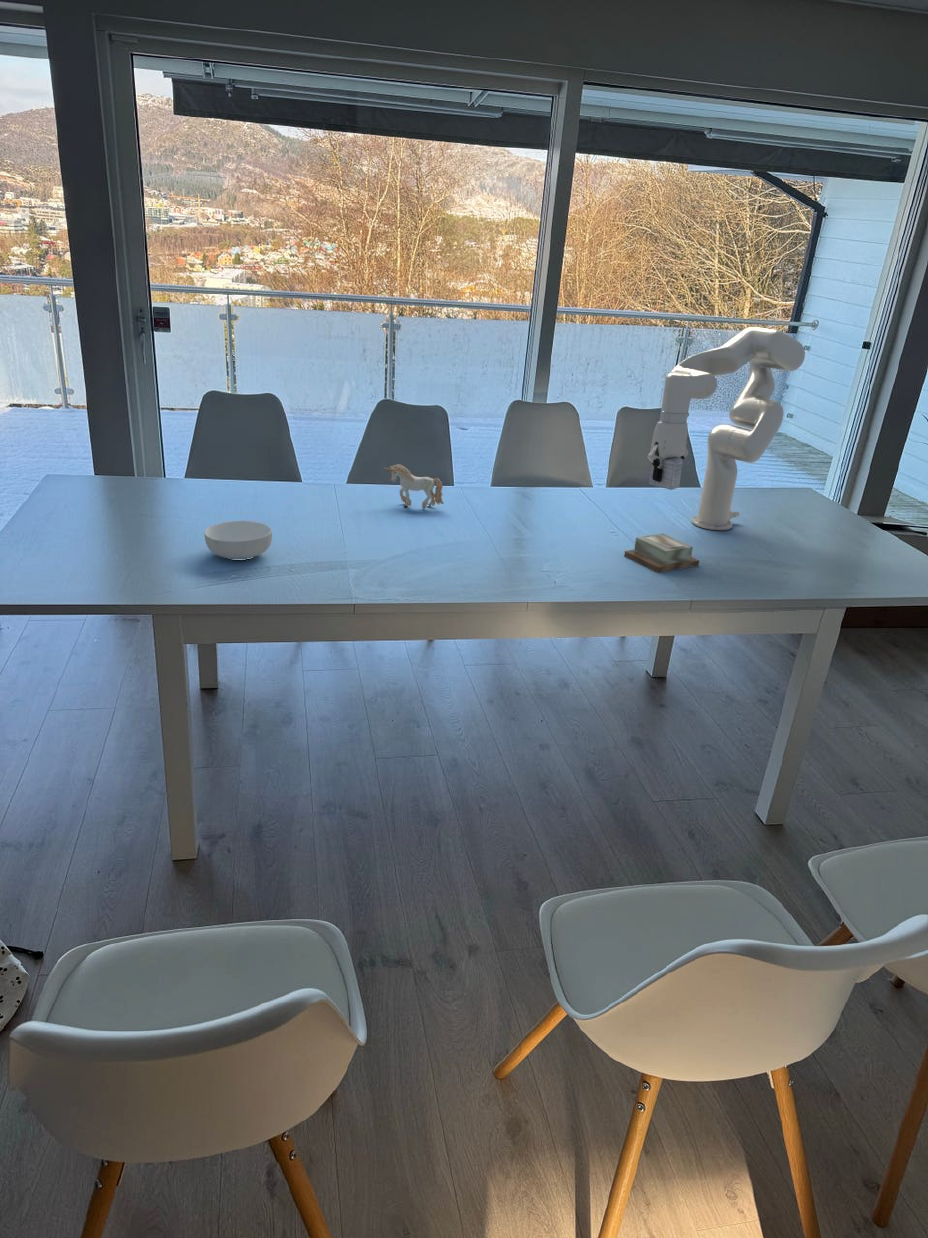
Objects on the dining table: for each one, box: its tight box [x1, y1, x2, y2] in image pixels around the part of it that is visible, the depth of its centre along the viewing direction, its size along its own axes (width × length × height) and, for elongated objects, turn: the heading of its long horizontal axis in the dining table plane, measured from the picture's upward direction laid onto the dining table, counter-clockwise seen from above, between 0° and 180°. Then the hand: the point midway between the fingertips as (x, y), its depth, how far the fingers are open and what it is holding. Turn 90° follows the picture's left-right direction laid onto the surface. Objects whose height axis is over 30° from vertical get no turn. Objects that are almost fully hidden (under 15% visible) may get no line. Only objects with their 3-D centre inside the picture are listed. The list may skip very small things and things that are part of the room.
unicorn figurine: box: [383, 463, 445, 509], centre depth 277 cm, size 7×20×13 cm, turn 100°
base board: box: [624, 533, 700, 574], centre depth 246 cm, size 15×14×6 cm
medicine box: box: [648, 457, 684, 491], centre depth 257 cm, size 8×4×9 cm, turn 46°
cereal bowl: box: [203, 520, 273, 559], centre depth 229 cm, size 17×17×7 cm
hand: (664, 479), depth 258 cm, fingers closed on medicine box, 5 cm apart
